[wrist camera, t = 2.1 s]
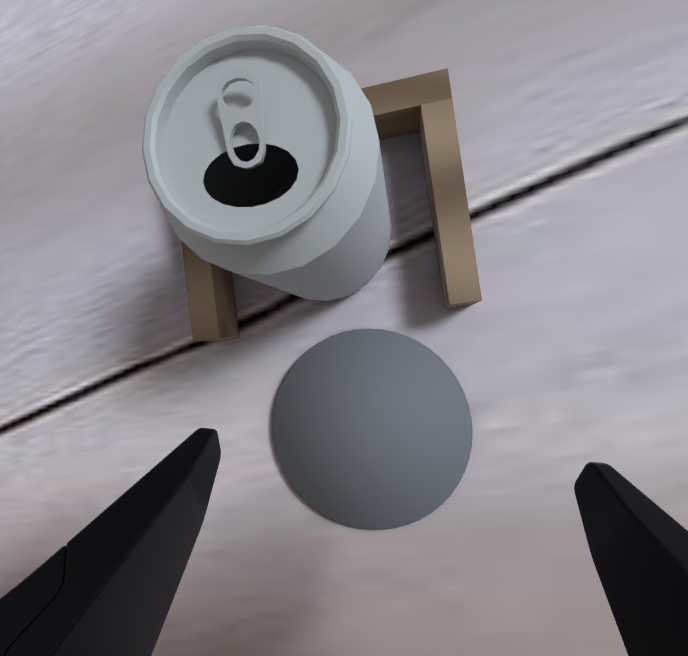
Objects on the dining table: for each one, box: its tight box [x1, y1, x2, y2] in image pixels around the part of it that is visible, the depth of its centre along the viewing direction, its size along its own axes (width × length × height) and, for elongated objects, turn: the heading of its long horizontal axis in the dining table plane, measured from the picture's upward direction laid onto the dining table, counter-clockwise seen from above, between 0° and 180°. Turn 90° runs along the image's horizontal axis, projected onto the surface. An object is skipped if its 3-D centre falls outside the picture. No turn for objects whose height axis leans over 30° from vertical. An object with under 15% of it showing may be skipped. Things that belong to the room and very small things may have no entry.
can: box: [142, 26, 391, 301], centre depth 17 cm, size 8×8×12 cm
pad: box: [273, 329, 472, 530], centre depth 22 cm, size 11×11×1 cm
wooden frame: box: [182, 68, 482, 341], centre depth 21 cm, size 12×15×2 cm
